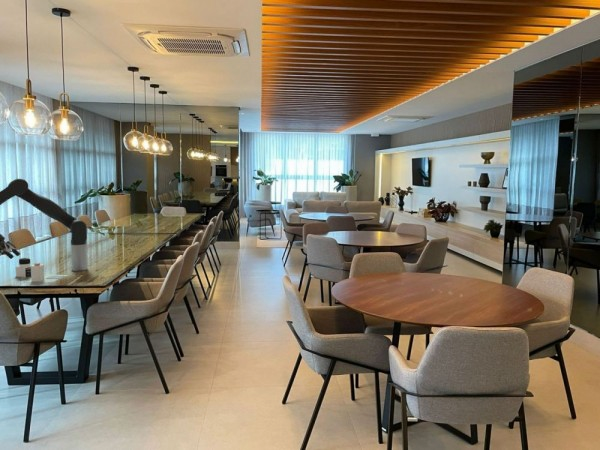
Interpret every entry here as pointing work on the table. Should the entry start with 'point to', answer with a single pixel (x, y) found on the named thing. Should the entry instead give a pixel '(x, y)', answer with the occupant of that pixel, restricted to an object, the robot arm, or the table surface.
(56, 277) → the post board
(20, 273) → the medicine bottle
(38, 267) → the white bottle
